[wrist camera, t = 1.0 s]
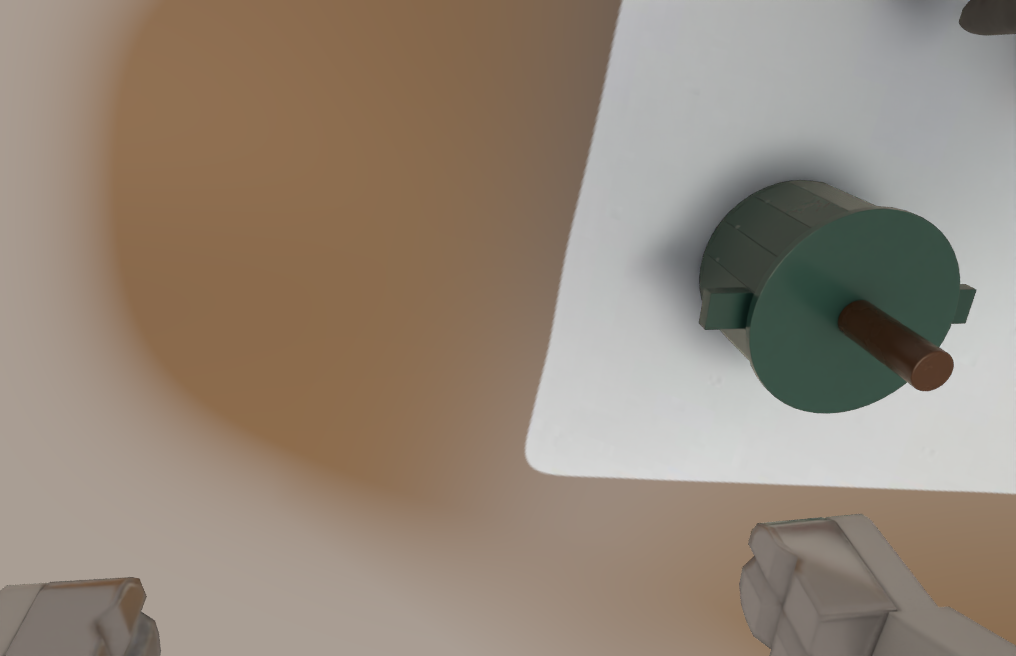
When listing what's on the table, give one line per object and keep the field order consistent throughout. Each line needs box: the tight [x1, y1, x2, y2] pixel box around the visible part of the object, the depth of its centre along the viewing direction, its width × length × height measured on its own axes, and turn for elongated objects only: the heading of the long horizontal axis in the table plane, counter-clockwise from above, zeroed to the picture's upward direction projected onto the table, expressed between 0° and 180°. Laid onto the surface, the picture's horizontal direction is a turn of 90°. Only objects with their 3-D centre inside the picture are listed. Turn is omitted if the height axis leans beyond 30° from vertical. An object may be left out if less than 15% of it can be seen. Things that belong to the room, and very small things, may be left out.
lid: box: [746, 206, 960, 413], centre depth 42 cm, size 14×14×8 cm
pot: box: [699, 180, 976, 360], centre depth 49 cm, size 13×18×8 cm
